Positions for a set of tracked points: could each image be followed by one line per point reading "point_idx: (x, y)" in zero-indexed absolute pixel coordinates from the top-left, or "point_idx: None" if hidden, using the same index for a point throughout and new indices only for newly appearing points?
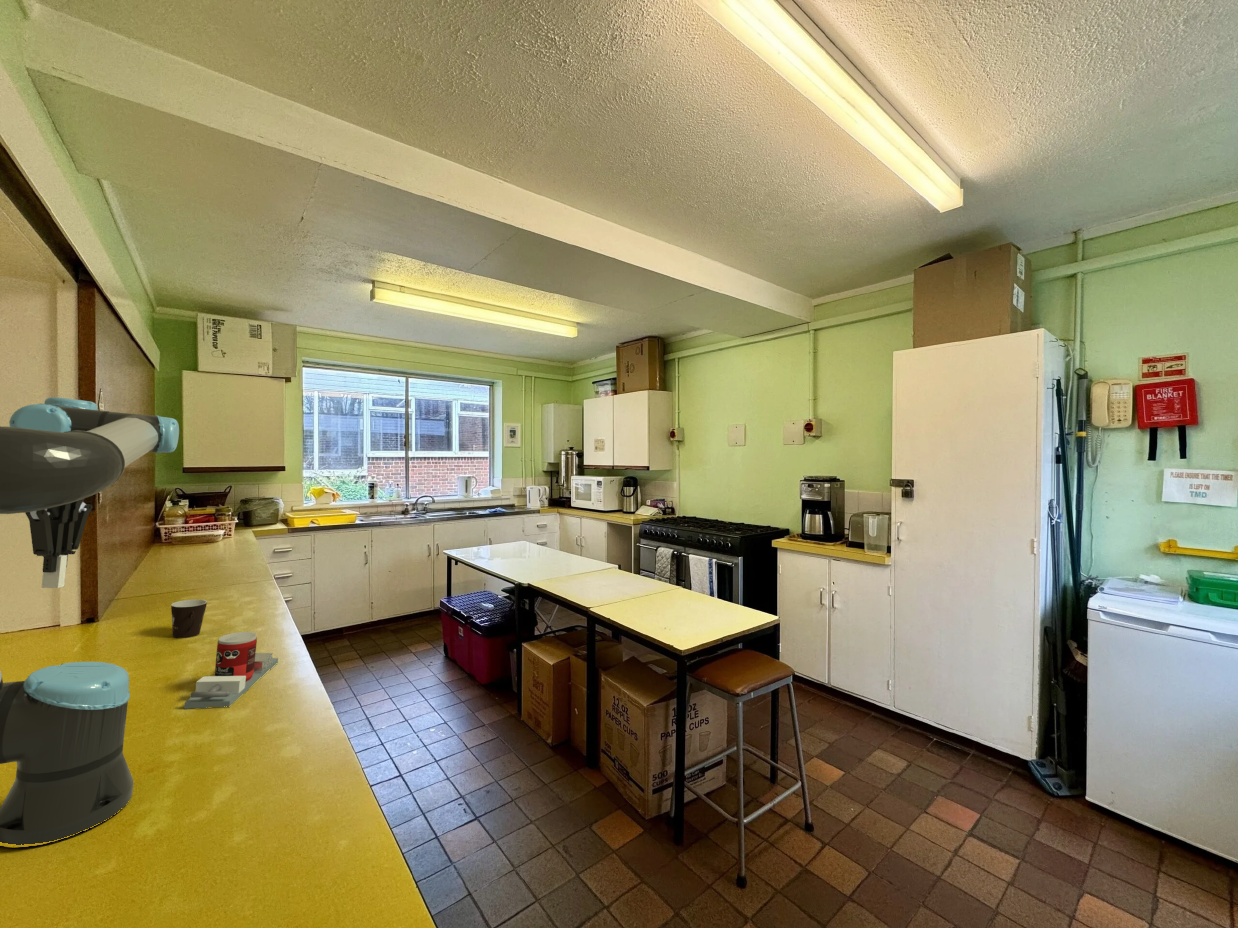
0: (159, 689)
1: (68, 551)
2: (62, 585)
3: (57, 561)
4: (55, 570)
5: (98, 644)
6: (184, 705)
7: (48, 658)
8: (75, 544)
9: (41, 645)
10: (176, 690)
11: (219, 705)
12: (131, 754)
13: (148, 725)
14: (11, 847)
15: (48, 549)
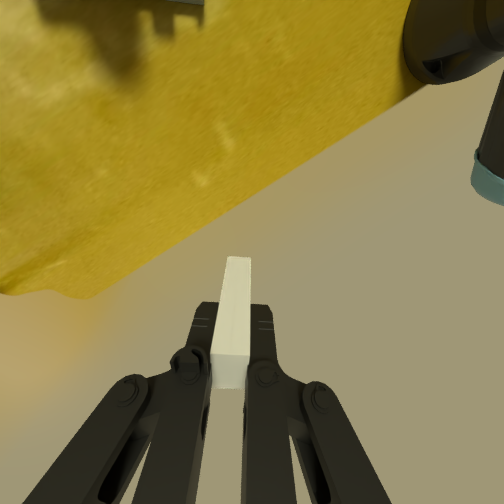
0: (141, 97)
1: (198, 374)
2: (234, 258)
3: (250, 338)
4: (251, 307)
5: (39, 252)
6: (202, 1)
7: (90, 269)
8: (127, 416)
9: (65, 291)
10: (140, 64)
11: None
12: (338, 12)
13: (254, 40)
14: None
15: (347, 426)
